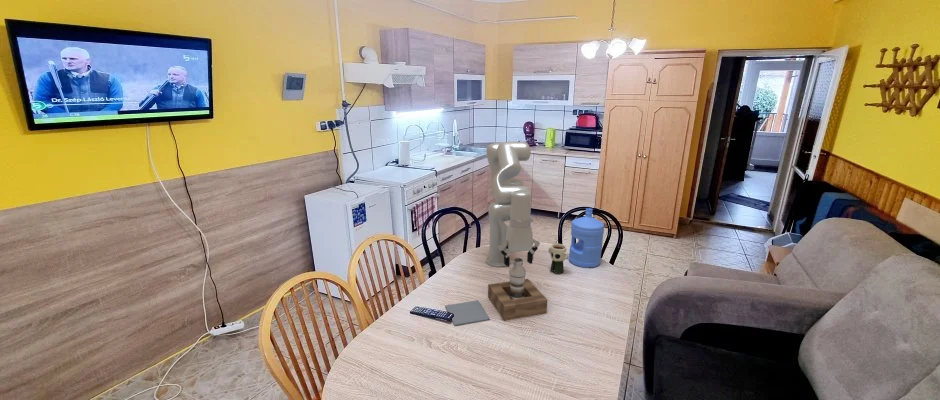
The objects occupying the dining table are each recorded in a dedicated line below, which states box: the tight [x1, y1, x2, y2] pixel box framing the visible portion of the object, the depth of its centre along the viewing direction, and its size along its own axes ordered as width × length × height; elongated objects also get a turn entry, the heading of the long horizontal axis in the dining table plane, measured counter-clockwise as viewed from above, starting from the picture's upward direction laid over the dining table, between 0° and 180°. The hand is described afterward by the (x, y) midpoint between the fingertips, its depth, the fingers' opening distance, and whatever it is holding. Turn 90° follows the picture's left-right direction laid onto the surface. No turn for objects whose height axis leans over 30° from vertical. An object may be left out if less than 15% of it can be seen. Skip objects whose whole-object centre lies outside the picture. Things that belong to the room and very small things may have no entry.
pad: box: [445, 299, 491, 327], centre depth 156 cm, size 14×14×1 cm
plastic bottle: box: [508, 257, 527, 300], centre depth 160 cm, size 6×7×20 cm
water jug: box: [568, 207, 605, 269], centre depth 199 cm, size 16×16×28 cm
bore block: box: [487, 278, 548, 322], centre depth 162 cm, size 18×18×6 cm
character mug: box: [548, 243, 569, 274], centre depth 190 cm, size 11×7×13 cm, turn 44°
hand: (518, 264), depth 157 cm, fingers open, 9 cm apart
